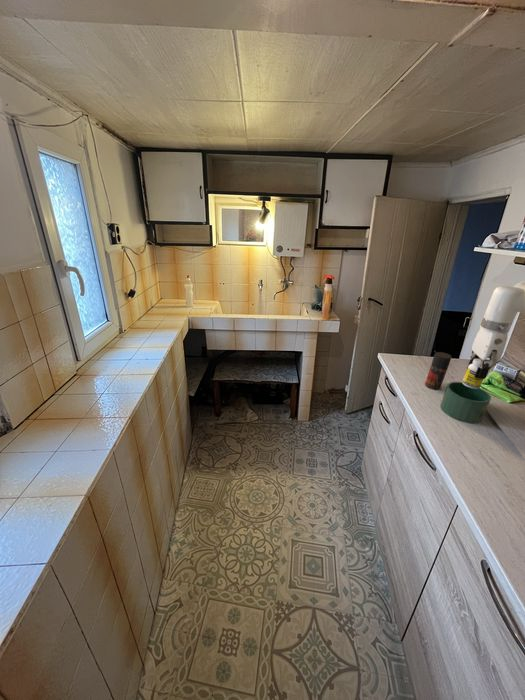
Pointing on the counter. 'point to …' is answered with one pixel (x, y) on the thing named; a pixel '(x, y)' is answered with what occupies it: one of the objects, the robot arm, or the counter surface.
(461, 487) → the counter surface
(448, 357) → the deodorant
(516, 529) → the counter surface
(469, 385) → the supplement bottle
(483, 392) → the crock
